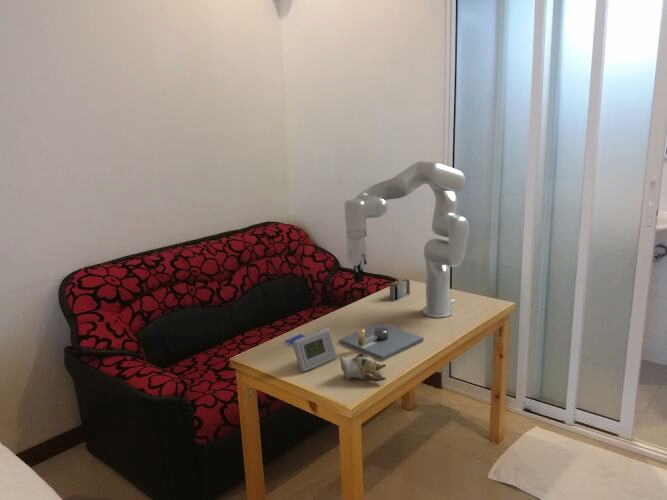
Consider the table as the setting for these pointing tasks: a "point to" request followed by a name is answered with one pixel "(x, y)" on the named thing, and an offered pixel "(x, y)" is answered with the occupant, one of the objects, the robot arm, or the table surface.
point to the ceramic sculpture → (361, 368)
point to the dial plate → (383, 342)
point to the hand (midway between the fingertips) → (358, 281)
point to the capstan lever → (378, 335)
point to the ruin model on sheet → (399, 289)
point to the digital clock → (314, 350)
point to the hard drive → (293, 339)
